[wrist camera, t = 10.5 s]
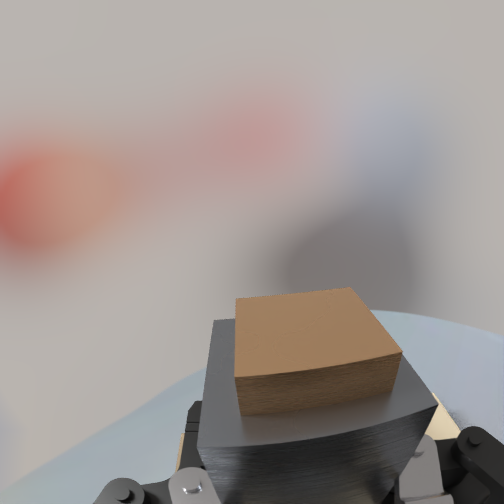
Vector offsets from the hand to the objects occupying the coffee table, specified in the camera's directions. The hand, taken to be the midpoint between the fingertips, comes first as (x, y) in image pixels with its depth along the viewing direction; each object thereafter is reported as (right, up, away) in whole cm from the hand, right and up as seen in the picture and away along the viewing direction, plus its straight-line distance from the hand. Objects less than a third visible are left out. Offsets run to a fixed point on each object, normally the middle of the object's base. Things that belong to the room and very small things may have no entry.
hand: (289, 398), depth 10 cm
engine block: (+1, -6, -1) cm, 7 cm away
